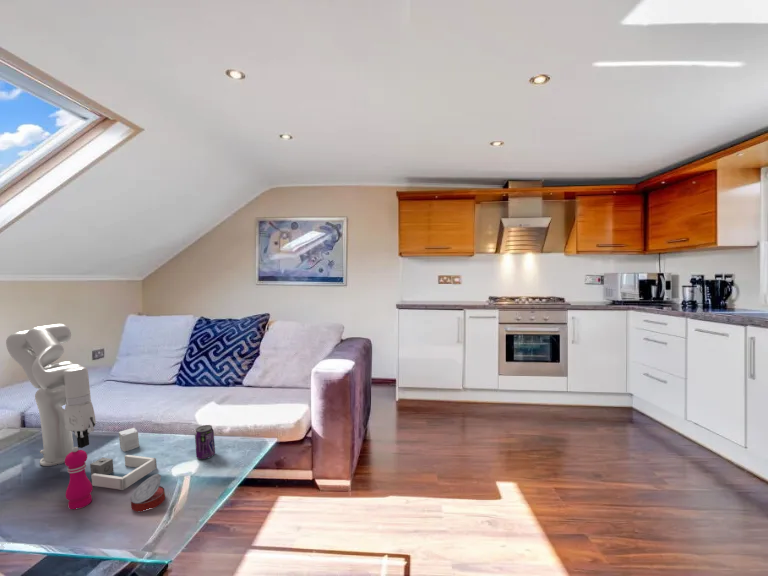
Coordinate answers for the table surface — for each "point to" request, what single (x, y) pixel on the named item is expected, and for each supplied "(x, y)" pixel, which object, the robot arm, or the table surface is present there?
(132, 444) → the skincare box
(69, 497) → the pepper mill
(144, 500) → the canned food
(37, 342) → the robot arm
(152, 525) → the table surface
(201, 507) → the table surface
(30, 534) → the table surface
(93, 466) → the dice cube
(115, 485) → the box
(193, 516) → the table surface
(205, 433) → the beverage can
